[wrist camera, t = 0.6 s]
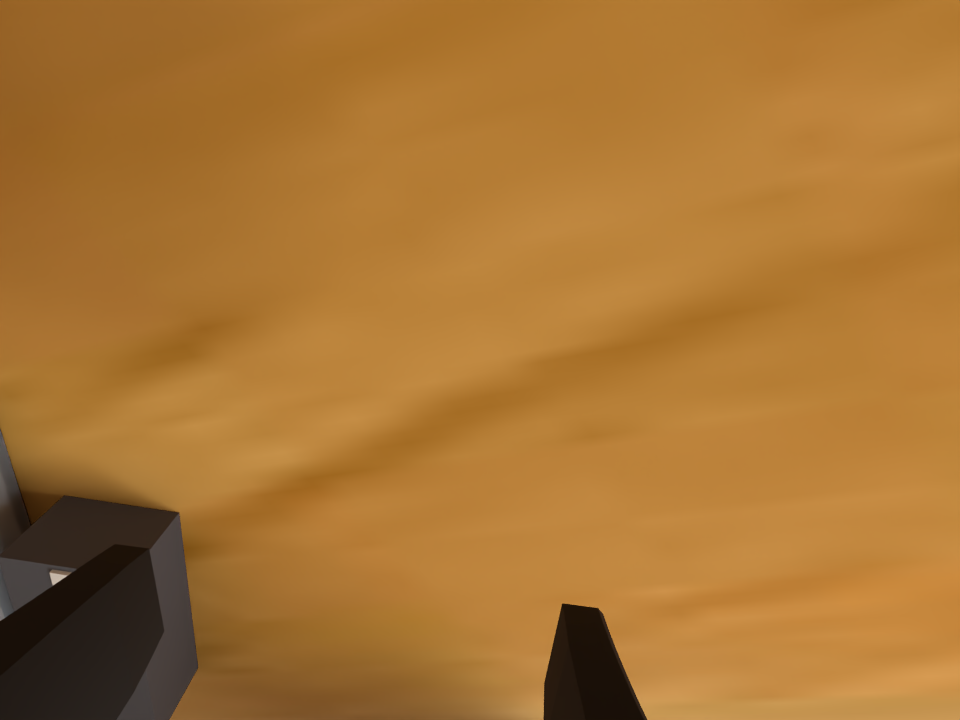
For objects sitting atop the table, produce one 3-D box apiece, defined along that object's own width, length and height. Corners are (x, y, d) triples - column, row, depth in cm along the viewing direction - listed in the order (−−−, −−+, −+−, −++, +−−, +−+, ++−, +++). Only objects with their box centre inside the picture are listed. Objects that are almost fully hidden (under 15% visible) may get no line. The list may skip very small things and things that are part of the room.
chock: (200, 662, 27) (156, 743, 24) (103, 647, 27) (45, 726, 24) (182, 508, 23) (125, 580, 20) (68, 491, 23) (-7, 560, 20)
